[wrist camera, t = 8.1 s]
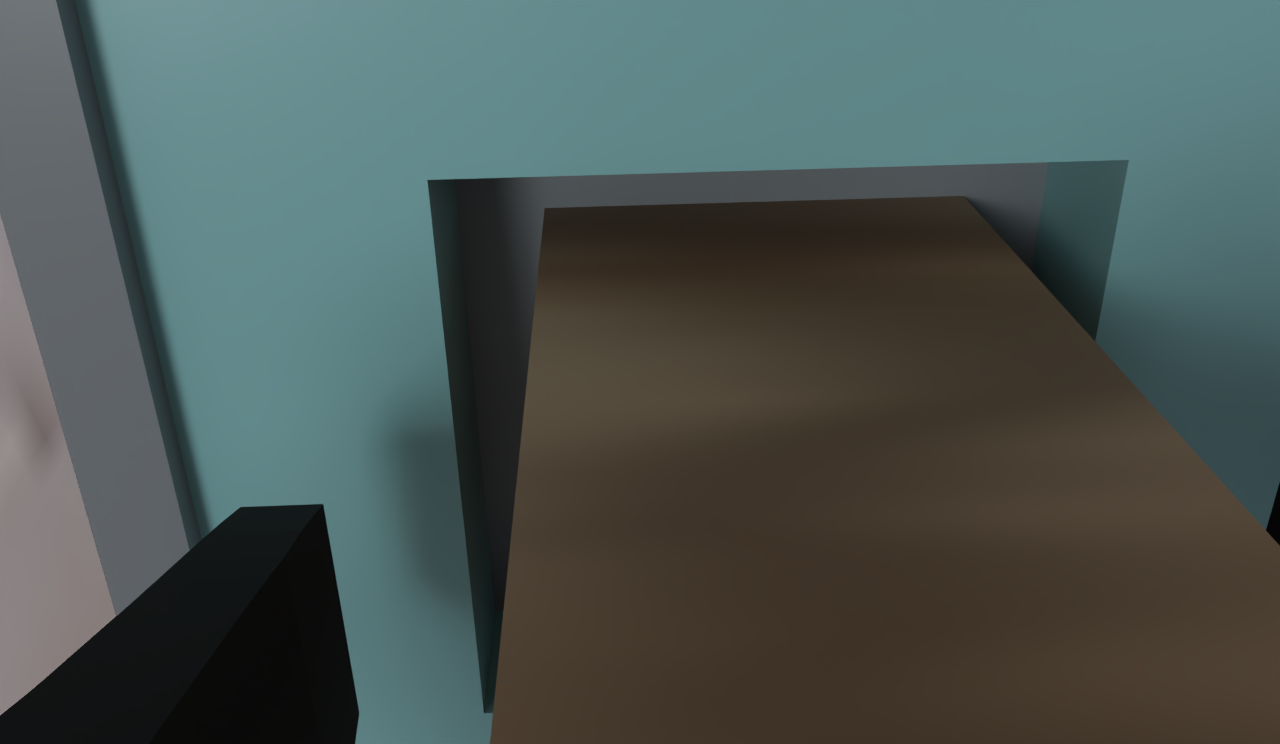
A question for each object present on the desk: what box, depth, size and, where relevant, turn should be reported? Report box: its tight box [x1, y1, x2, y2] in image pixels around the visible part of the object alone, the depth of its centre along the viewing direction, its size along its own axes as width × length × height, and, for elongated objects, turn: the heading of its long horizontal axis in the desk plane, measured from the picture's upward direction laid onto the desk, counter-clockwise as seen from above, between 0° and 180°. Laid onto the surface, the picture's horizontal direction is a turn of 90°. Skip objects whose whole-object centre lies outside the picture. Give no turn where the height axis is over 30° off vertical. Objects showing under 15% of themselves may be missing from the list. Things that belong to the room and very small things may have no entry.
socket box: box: [0, 0, 1280, 744], centre depth 11 cm, size 12×12×2 cm
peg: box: [490, 196, 1280, 744], centre depth 8 cm, size 4×4×8 cm
